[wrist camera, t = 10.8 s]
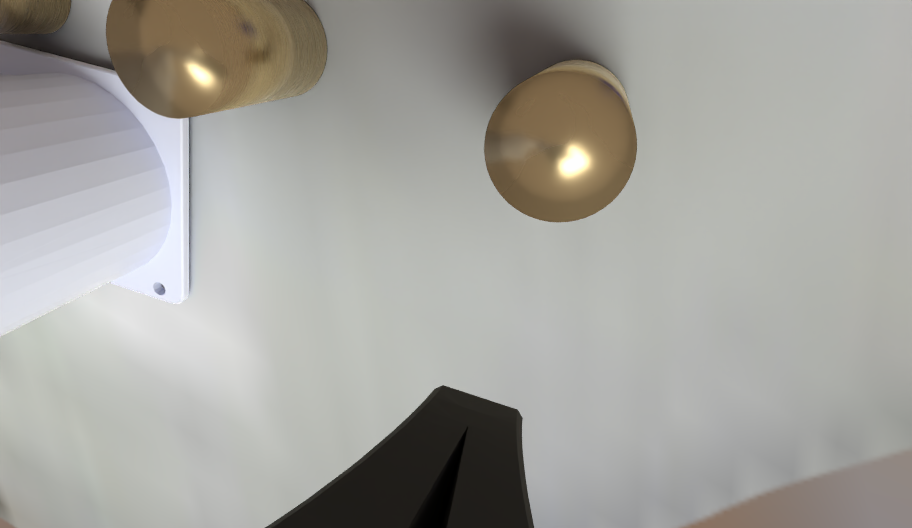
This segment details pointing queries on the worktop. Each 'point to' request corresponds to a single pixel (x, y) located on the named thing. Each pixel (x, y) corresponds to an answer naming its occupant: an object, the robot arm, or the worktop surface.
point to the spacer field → (302, 63)
